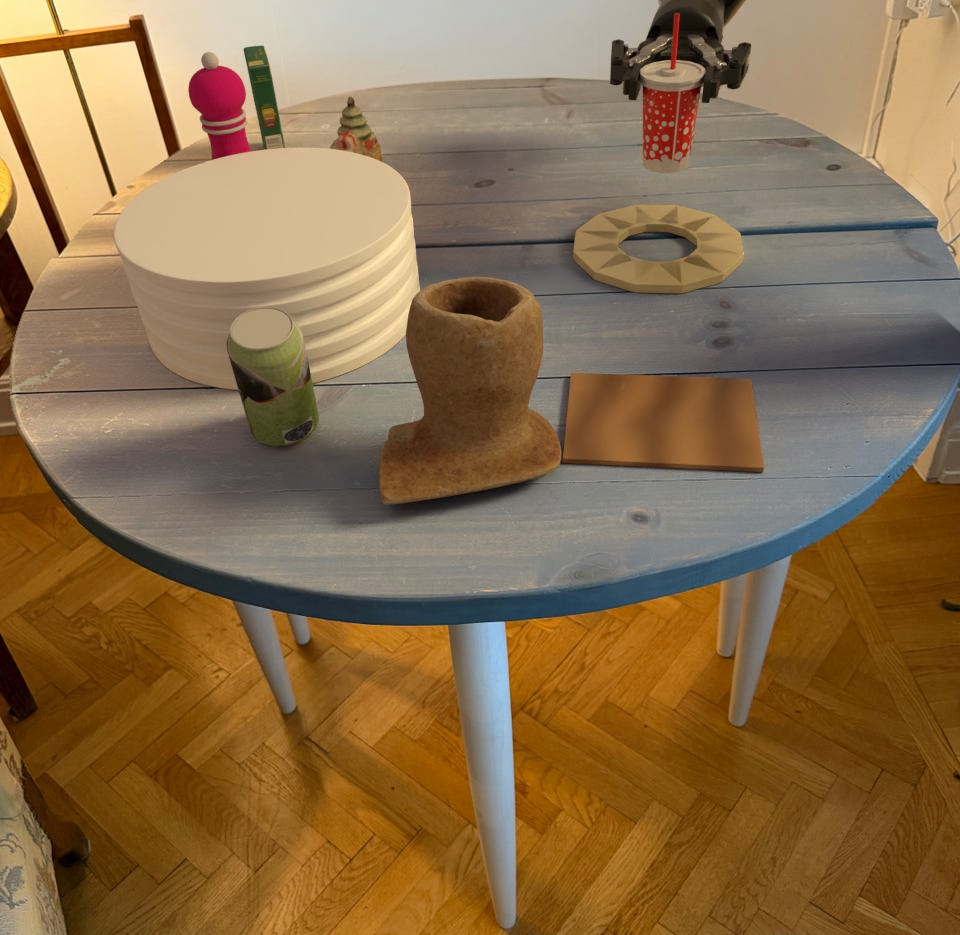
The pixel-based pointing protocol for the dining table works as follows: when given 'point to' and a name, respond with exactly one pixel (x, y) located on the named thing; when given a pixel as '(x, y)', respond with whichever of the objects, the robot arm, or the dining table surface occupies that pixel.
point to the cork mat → (662, 422)
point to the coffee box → (264, 97)
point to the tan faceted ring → (700, 269)
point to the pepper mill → (220, 106)
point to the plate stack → (272, 257)
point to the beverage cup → (670, 110)
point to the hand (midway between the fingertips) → (669, 91)
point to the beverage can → (273, 376)
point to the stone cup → (470, 394)
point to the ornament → (356, 133)
